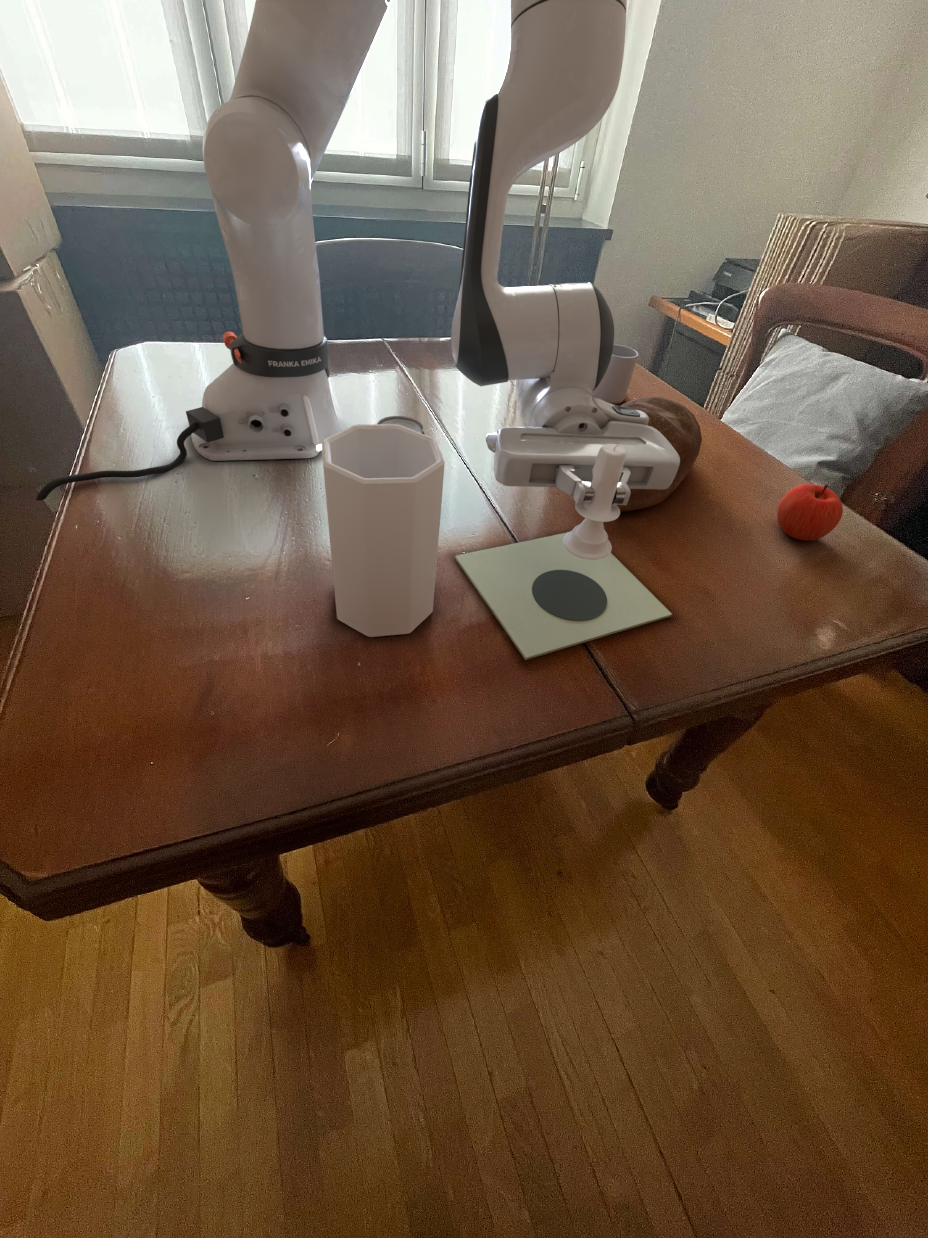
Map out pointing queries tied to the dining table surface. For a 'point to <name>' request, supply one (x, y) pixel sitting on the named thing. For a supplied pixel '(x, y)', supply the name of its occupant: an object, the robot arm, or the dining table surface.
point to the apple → (809, 511)
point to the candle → (598, 507)
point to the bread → (680, 434)
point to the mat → (558, 594)
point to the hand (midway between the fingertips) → (604, 498)
